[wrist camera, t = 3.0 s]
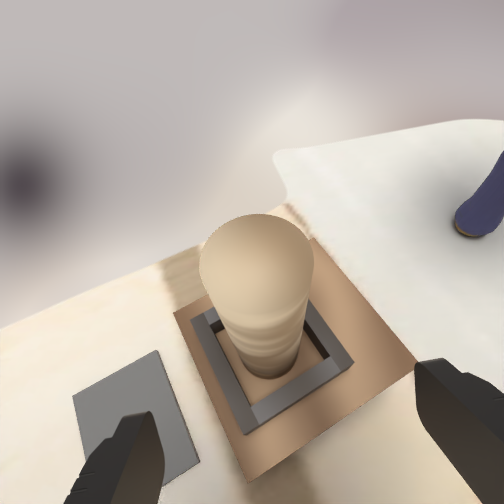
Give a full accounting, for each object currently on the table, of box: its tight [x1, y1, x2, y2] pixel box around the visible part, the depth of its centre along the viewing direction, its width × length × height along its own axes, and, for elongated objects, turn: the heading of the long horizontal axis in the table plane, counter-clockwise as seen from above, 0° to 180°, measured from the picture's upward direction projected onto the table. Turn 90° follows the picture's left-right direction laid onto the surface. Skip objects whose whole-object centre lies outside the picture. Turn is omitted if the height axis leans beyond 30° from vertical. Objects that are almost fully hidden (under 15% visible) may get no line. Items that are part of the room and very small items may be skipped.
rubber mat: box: [72, 350, 200, 486], centre depth 26 cm, size 8×10×1 cm
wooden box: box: [173, 238, 418, 483], centre depth 24 cm, size 13×12×10 cm
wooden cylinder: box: [199, 214, 314, 380], centre depth 16 cm, size 4×4×12 cm
